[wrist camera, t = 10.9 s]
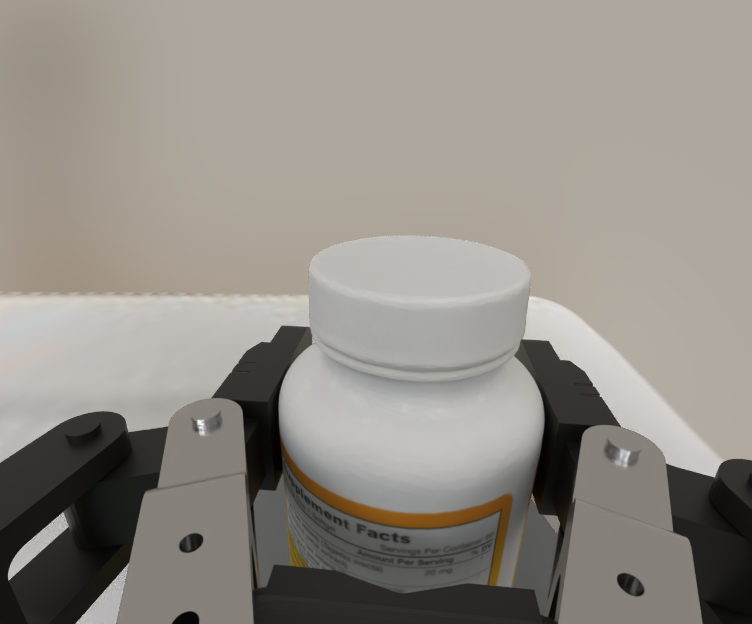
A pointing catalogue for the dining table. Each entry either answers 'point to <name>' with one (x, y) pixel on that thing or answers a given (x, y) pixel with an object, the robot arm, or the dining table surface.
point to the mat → (529, 567)
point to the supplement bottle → (411, 415)
